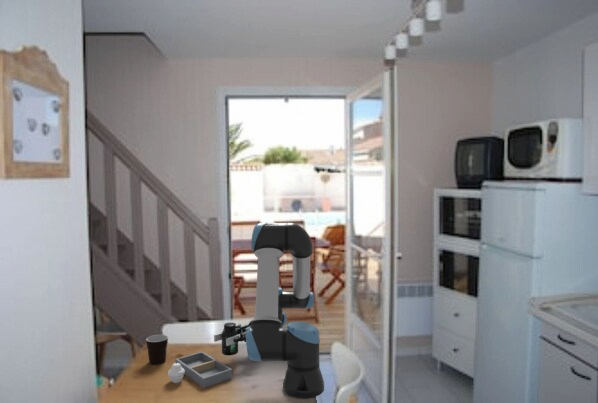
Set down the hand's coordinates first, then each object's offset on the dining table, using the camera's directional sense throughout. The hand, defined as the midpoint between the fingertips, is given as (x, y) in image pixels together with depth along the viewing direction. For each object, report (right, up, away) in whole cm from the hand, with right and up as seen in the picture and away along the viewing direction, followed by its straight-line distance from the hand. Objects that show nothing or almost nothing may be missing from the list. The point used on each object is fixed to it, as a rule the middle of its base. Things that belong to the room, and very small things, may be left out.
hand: (220, 340), depth 172 cm
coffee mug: (-27, -11, +7) cm, 30 cm away
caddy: (-6, -11, -5) cm, 14 cm away
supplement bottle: (+3, -7, +4) cm, 8 cm away
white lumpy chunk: (-14, -12, -13) cm, 22 cm away
